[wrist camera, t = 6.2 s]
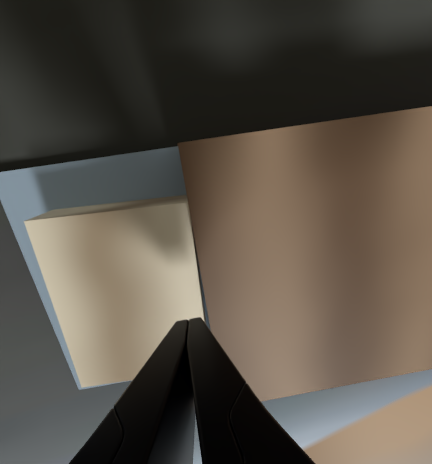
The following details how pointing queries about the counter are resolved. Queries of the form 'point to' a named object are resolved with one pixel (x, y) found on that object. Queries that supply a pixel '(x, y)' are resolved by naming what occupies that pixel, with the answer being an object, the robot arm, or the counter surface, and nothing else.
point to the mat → (86, 200)
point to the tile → (118, 280)
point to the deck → (317, 249)
